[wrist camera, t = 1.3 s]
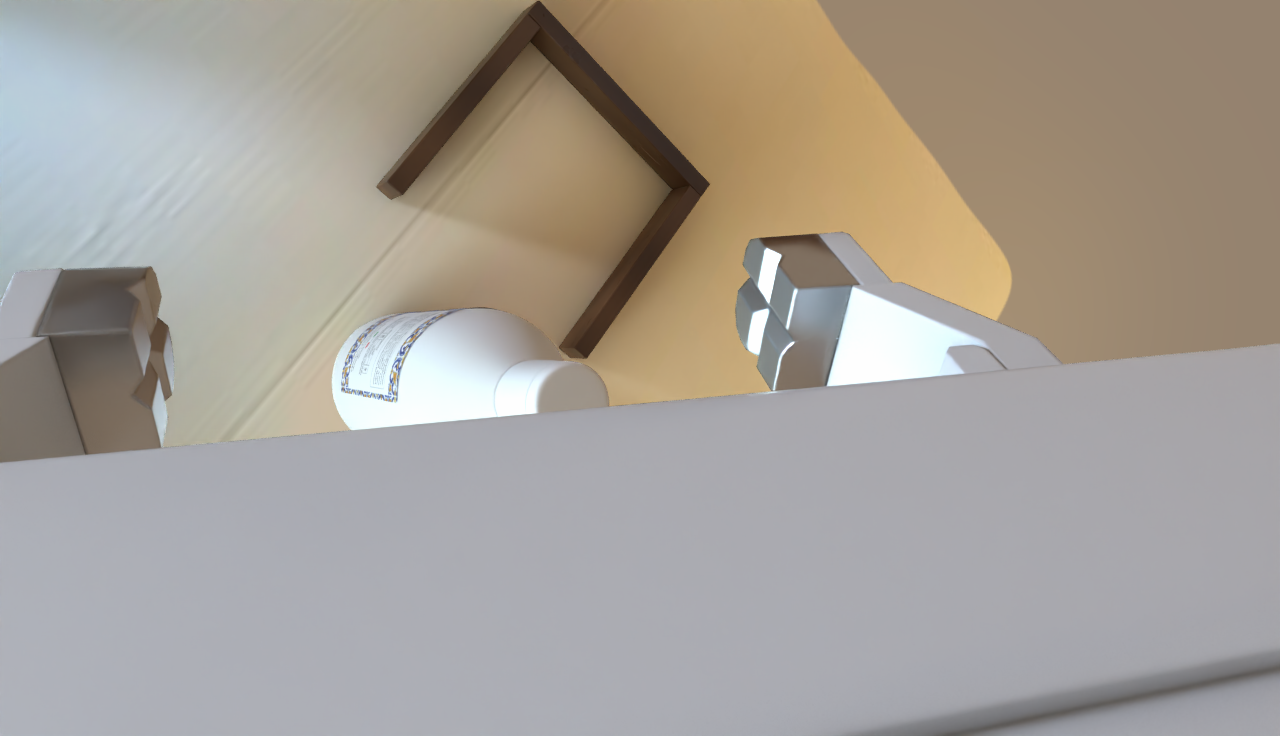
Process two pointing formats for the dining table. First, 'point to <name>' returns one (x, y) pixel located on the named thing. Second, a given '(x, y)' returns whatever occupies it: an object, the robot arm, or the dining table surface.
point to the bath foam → (455, 370)
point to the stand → (617, 112)
